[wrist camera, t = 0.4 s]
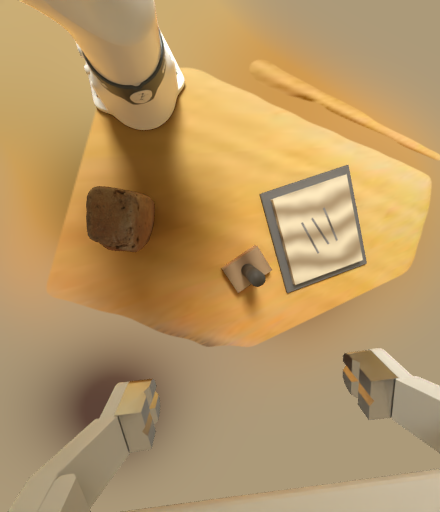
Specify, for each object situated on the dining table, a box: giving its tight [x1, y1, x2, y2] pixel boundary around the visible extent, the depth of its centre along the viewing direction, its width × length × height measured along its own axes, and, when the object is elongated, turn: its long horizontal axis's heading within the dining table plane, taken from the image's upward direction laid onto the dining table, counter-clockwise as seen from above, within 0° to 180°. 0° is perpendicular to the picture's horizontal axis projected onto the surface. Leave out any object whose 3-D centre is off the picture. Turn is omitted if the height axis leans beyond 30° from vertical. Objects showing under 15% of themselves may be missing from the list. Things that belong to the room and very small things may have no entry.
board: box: [271, 174, 363, 285], centre depth 57 cm, size 22×19×2 cm
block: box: [86, 186, 155, 252], centre depth 42 cm, size 11×8×20 cm
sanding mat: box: [260, 165, 367, 293], centre depth 58 cm, size 26×23×1 cm
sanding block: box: [222, 245, 272, 293], centre depth 53 cm, size 10×7×10 cm
